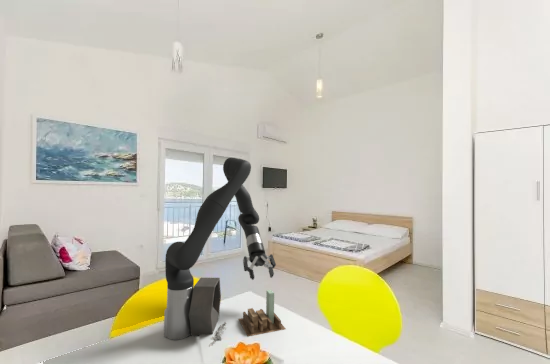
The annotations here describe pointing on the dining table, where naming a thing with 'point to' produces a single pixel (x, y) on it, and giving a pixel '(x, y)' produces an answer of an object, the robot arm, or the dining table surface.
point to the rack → (260, 325)
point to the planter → (205, 306)
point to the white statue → (219, 333)
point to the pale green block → (270, 305)
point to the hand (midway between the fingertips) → (262, 277)
